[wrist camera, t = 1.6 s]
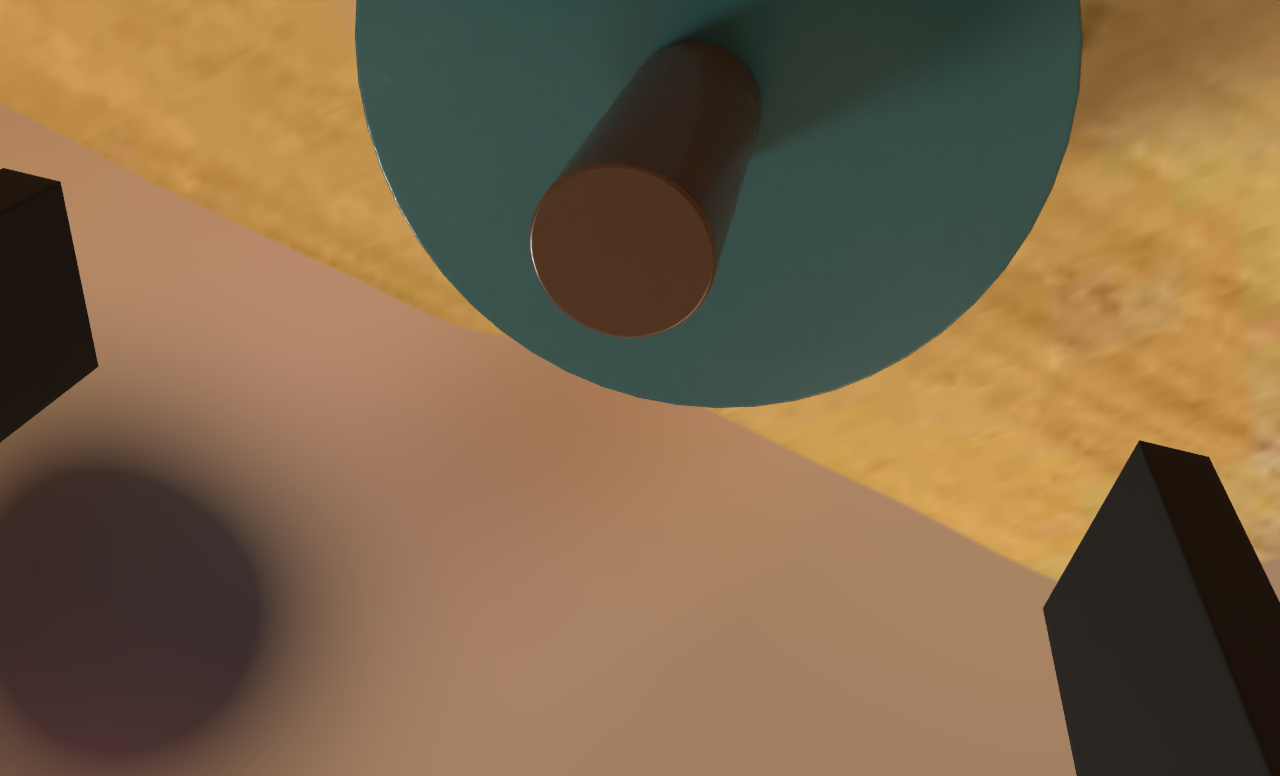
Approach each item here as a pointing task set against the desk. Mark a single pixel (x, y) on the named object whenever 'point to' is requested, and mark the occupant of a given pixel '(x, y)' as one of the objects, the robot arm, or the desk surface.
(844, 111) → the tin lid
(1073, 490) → the desk surface
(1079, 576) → the robot arm
